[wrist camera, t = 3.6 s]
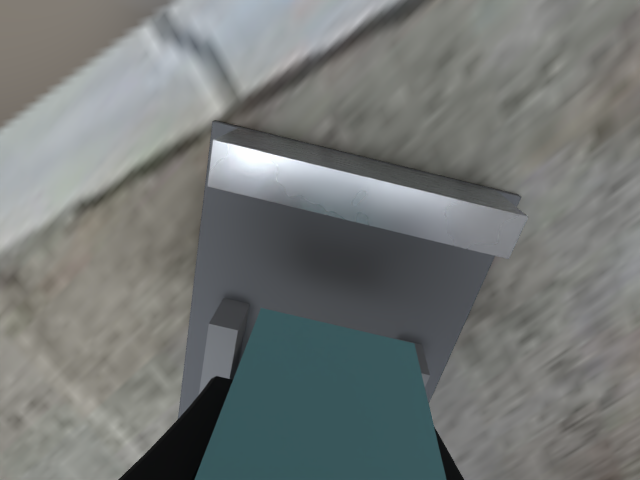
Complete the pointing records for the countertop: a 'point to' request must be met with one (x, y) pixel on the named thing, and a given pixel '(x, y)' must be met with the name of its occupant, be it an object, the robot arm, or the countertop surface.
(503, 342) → the countertop surface
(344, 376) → the block
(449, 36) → the countertop surface
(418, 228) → the base
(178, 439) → the robot arm
